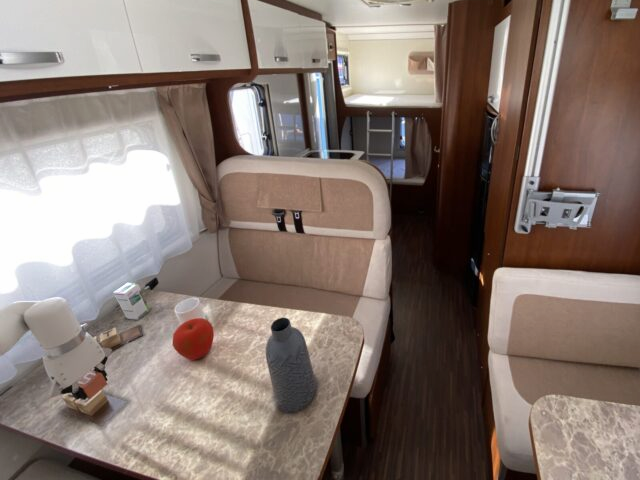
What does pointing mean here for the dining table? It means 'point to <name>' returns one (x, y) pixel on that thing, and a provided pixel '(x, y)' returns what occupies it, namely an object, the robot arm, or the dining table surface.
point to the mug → (189, 310)
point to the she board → (100, 412)
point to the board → (118, 337)
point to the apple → (193, 338)
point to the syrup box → (131, 301)
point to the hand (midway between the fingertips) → (92, 388)
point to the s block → (92, 383)
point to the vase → (289, 367)
